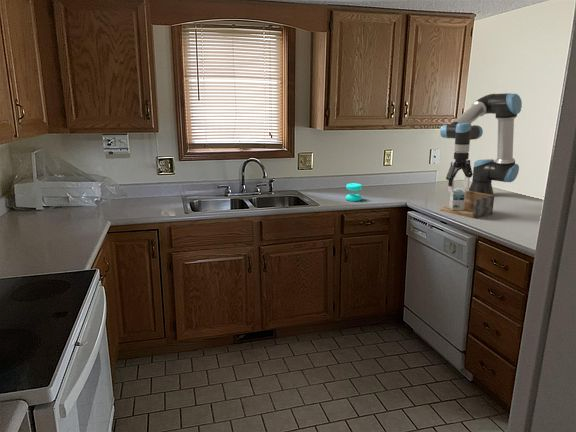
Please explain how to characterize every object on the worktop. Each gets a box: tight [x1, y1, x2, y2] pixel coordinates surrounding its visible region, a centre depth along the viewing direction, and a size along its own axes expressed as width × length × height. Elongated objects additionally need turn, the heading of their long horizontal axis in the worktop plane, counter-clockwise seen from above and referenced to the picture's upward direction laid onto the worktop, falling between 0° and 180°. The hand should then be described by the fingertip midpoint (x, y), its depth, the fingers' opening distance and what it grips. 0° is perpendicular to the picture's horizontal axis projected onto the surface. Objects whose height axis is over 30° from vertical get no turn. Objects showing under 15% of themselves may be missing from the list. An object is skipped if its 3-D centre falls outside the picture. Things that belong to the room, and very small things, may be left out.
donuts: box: [345, 182, 363, 202], centre depth 276 cm, size 10×10×10 cm
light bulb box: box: [448, 187, 466, 211], centre depth 246 cm, size 11×7×11 cm, turn 169°
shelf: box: [439, 189, 495, 219], centre depth 244 cm, size 16×22×10 cm
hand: (458, 190), depth 245 cm, fingers open, 13 cm apart
